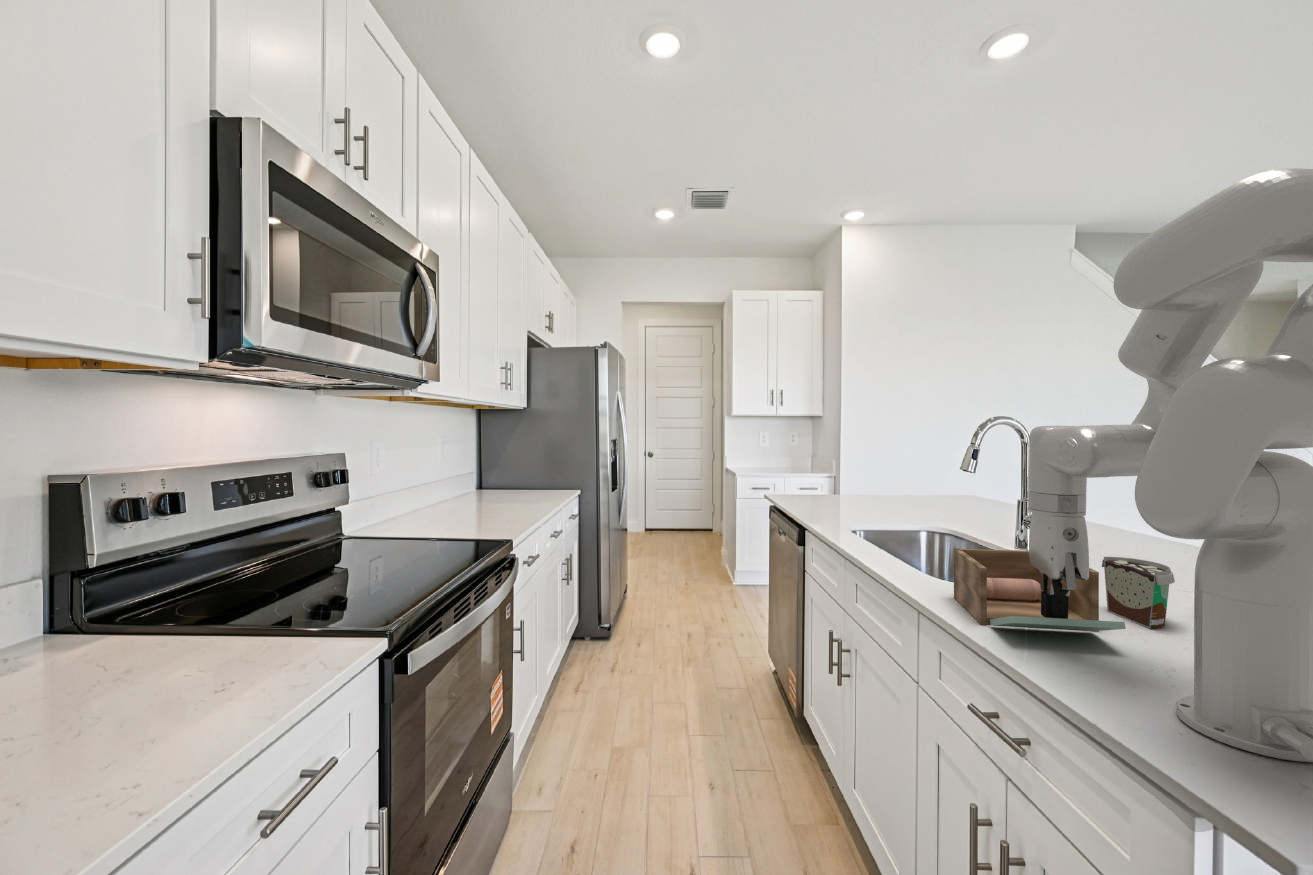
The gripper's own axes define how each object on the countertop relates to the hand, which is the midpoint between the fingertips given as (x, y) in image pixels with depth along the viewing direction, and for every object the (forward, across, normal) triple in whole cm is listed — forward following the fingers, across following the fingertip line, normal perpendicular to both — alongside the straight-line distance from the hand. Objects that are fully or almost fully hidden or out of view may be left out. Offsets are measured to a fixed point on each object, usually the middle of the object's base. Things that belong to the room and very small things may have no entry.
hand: (1054, 617), depth 91 cm
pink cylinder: (+3, +19, 0) cm, 19 cm away
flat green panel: (+4, +6, 0) cm, 7 cm away
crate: (+4, +14, 0) cm, 14 cm away
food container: (+4, +14, -20) cm, 25 cm away
